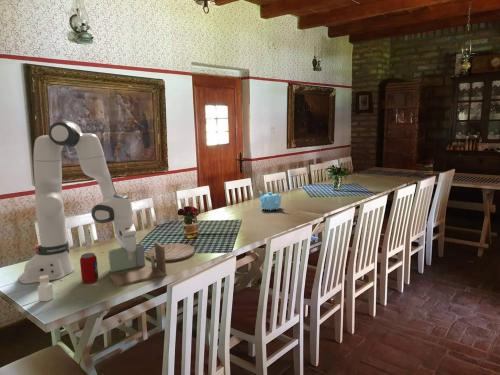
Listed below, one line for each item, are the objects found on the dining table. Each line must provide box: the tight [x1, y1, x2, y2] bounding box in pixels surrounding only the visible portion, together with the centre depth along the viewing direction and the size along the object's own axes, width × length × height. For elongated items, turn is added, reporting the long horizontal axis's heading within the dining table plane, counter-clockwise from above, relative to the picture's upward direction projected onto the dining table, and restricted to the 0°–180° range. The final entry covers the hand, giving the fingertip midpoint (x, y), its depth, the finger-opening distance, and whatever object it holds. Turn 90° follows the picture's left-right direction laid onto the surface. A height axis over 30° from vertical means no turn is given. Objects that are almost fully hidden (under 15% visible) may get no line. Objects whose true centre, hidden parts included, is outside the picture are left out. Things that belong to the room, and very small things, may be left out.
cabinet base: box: [109, 241, 168, 288], centre depth 169 cm, size 22×12×13 cm, turn 123°
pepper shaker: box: [37, 275, 55, 302], centre depth 148 cm, size 4×4×10 cm
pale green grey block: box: [107, 243, 146, 273], centre depth 180 cm, size 16×4×10 cm, turn 123°
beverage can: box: [79, 252, 99, 284], centre depth 165 cm, size 7×7×12 cm
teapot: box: [259, 190, 283, 211], centre depth 292 cm, size 16×20×14 cm
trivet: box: [145, 243, 195, 264], centre depth 198 cm, size 25×25×2 cm
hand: (127, 256), depth 180 cm, fingers open, 8 cm apart
